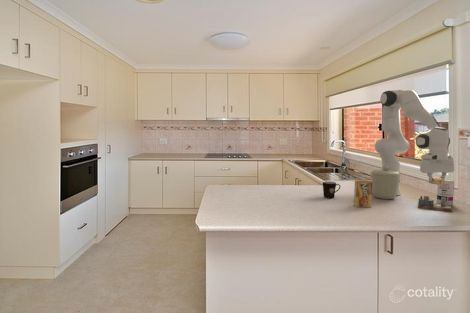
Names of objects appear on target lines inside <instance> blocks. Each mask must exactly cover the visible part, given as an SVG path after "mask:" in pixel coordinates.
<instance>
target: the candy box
mask: <svg viewBox="0 0 470 313" xmlns="http://www.w3.org/2000/svg"><path fill="white" fill-rule="evenodd" d="M372 184H373V182H372V179H371V180H370V179H367V180H365V179H364V180H362V179H355V180H354V196H353V206H354V207H356V208H372V201H373V200H372V198H373V194H372Z"/></svg>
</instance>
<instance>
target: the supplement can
mask: <svg viewBox="0 0 470 313" xmlns="http://www.w3.org/2000/svg"><path fill="white" fill-rule="evenodd" d="M436 190H437V191H436V204H441V197H444V198H446V205H450V206H451V207H452V205H453V204H454V196H455V194H454V193H455V182H454V180H453V179H448V178H445V180H444V184H443V185H441V184H440V185H439V184H438V185H437V189H436Z"/></svg>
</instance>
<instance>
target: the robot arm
mask: <svg viewBox="0 0 470 313" xmlns="http://www.w3.org/2000/svg"><path fill="white" fill-rule="evenodd" d="M379 99H380V101H379V102H380V103H381V105H382V106H383V107H382V115H381V117H382V118H381V120H382V121H381V122H382V123H381V126H382V131H383V132H384V133H385V134H386V135H387V138H386V137H384V138H380V139H378V140H376V141H375V143H374V150H375V151H376V153H378V155H379V157H380V160H381V166H382V167H381V170H383V167H384V166H388V167H389V170H391V171H397V172H399V173H400V174H401V162H400V161H399V160H398V159H397V157H396V155H398V154H399V155H401V154H404V153H407V152H408V151H409V150H410V142H409V140H407V139H406V138H405V136H404V134H403V132H402V127H401V113H400V112H401V111H400V110H402V112H403V114H404V116H405V117H406V118H407V119H409V120H412V121H415V122H418V123H421V124H423V125H425V126H426V128H427V129H428V131H426V132H422V133H419V134H418V135H417V136H416V138H415V144H416V147H417V148H418V149H420V150H428V152H426V153H424V154H421V155H420V159H421V161H420V164H419V171H420V172H421V173H425V174H426V175H427V176H428V182H429V181H433V179H434V178H432V177H433V174H435V173H436V174H437V173H438V174H439V173H440V174H441V176H440V177H439V178H443V179H444V180H445V179H446V178H445V177H447V175H448V173H453V172H454V171H455V161H454V158H453V157H452V156H451V155H449V150H448V147H449V146H450V144H451V138H450V135H449V133H450V132H449V130H448V128H446V127H441V126H440V124H439V122H438V121H437V119H436V118H435V116H434V115H433V114H432V112H430V111H428V109H427V108H426V107H425V106H424V105H423V102H422V101H421V99H420V97H419V96H418V94H417V93H416V92H415V90H413V89H398V90H397V89H395V90H394V89H393V90H385V91H384V92H382V93H381V95H380V98H379ZM399 183H401V178H400V179H399ZM400 186H401V185H400V184H399V185H398V190H397V195H396V196H401V195H402V193H401V189H400V188H401V187H400ZM372 195H373V188H372Z"/></svg>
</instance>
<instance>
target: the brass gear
mask: <svg viewBox="0 0 470 313" xmlns="http://www.w3.org/2000/svg"><path fill="white" fill-rule="evenodd" d="M432 178H434V179H433V181H429V180H428V184H433V185H437V186H438V184H439V185H440V184H441V185H443V184H444V179H443V178H440V177H433V176H432Z"/></svg>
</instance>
